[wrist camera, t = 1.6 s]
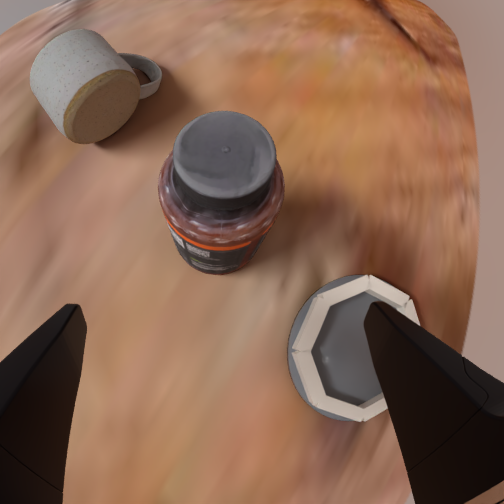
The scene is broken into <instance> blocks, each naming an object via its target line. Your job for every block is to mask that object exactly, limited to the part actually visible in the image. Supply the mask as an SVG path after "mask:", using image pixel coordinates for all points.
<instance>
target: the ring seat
mask: <svg viewBox="0 0 504 504" xmlns="http://www.w3.org/2000/svg"><path fill="white" fill-rule="evenodd" d="M409 297H410V296H408V295H407V294H405V293H403V292H401V291H399V290H398V289H396V288H394V287H393V286H392V285H390V284H389V283H387V282H385V281H383V280H381V279H379V278H376V277H374V276H372V275H369V276H368V275H352V276H346V277H343V278H340V279H337V280H334V281H332V282H330V283H328V284H326V285H324V286H323V287H321V288H320V289H318V290H317V291H316V292H315V293H314V294H312V295H311V296H310V297H309V299H308V300H307V301H306V302H305V303H304V305H303V306H302V307H301V309H300V310H299V312H298V314H297V316H296V318H295V320H294V322H293V325H292V328H291V331H290V335H289V339H288V347H287V361H288V368H289V372H290V376H291V379H292V382H293V384H294V386H295V388H296V390H297V391H298V393H299V395H300V396H301V397H302V398H303V400H304V401H305V402H306V403H307V404H308V405H310V406H311V407H312V408H313V409H315V410H316V411H318V412H319V413H321V414H322V415H325V416H327V417H329V418H332V419H336V420H342V421H359V422H361V421H362V420H363V421H367V420H369V419H370V418H372V417H374V416H376V415H377V414H379V413H381V412H382V411H384V410H386V409H387V408H388V407H387V404H386V401H385V398H384V395H383V392H382V389H381V386H380V384H379V381H378V378H377V375H376V372H375V369H374V366H373V362H372V359H371V354H370V350H369V346H368V342H367V338H366V334H365V330H364V325H363V323H364V319H365V316H366V314H367V311H368V309H369V306H370V304H371V303H372V302H374V301H384V302H386V303H387V304H389V305H390V306H392V307H393V308H395V309H396V310H398V311H399V312H400V313H402V314H403V315H405V316H406V317H408V318H409V319H411V320H412V321H414V322H415V323H416V324H418V325H419V326H420V323H419V320H418V317H417V313H416V310H415V307H414V304H413V301H412V299H410V300H409Z"/></svg>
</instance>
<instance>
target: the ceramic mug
mask: <svg viewBox="0 0 504 504" xmlns="http://www.w3.org/2000/svg"><path fill="white" fill-rule="evenodd" d="M132 68H135V69H139V70H141V71H143V72H145V73H146V74H147V75H148V77H149V78H150V79H151V83H148V84H144V85H140V83H139V80H138V78H137V76H136V74H135V73H134V71H133V69H132ZM161 79H162V71H161V69H160V67H159V66H158V65H157V64H156V63H155V62H154V61H152V60H150V59H148V58H146V57H144V56H140V55H136V54H127V53H117V52H116V51H115V50H114V49H113V48H112V47H111V46H110V45H109V44H108V42H107V41H106V40H105V39H104V38H103V37H102V36H101V35H100V34H98V33H96V32H95V31H92V30H87V29H77V30H72V31H68V32H65V33H63V34H61V35H59V36H57V37H56V38H54V39H53V40H52V41H50V42H49V43H48V44H47V45H46V46H45V47H44V48H43V49H42V50H41V51H40V53H39V54H38V55H37V57H36V59H35V61H34V63H33V65H32V69H31V73H30V86H31V89H32V91H33V93H34V95H35V96H36V98H37V99H38V100H39V102H40V104H41V105H42V107H43V108H44V110H45V111H46V112H47V114H48V115H49V117H50V118H51V119H52V121H53V122H54V124H55V125H56V127H57V128H58V130H59V131H60V132H61V133H62V134H63V135H65V136H66V137H67V138H68V139H69V140H71V141H73V142H75V143H79V144H89V143H94V142H98V141H100V140H103V139H105V138H106V137H108V136H110V135H112V134H113V133H115V132H116V131H117V130H118V129H119V128H121V127H122V126H123V125H124V124H125V123H126V122H127V120H128V119H129V118H130V117H131V115H132V114H133V112H134V110H135V109H136V106H137V104H138V101H139V99H143V98H147V97H148V96H150V95H152V94H154V93H155V92H156V91H157V89H158V87H159V85H160V82H161Z"/></svg>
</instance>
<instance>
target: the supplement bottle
mask: <svg viewBox="0 0 504 504" xmlns="http://www.w3.org/2000/svg"><path fill="white" fill-rule="evenodd" d="M284 188H285V184H284V177H283V173H282V170H281V167H280V165H279V163H278V160H277V159H276V148H275V145H274V141H273V140H272V137H271V136H270V134H269V133H268V131H267V130H266V129H265V128H264V127H263V126H262V125H261V124H260V123H259V122H258V121H256V120H254V119H253V118H251V117H249V116H247V115H244V114H240V113H237V112H232V111H216V112H210V113H207V114H203V115H201V116H199V117H197V118H195V119H194V120H192V121H191V122H189V123H188V124H187V125H186V126H185V127H184V128H183V129H182V130H181V131H180V133H179V134H178V136H177V138H176V140H175V143H174V147H173V150H172V151H171V153H169V155H168V157H167V158H166V160H165V161H164V164H163V166H162V169H161V172H160V175H159V181H158V192H159V199H160V204H161V207H162V210H163V213H164V216H165V218H166V221H167V224H168V226H169V229H170V232H171V234H172V237H173V239H174V242H175V245H176V247H177V249H178V251H179V253H180V255H181V256H182V257H183V259H184V260H185V261H186V262H187V263H188V264H189V265H190V266H192V267H193V268H194V269H196V270H198V271H201V272H203V273H206V274H213V275H223V274H228V273H231V272H233V271H236V270H238V269H240V268H241V267H243V266H244V265H245V264H246V263H247V262H248V261H249V260H250V259H251V258H252V257H253V256H254V254H255V253H256V251H257V249H258V248H259V246H260V244H261V243H262V241H263V239H264V238H265V236H266V234H267V233H268V231H269V230H270V228H271V226H272V225H273V223H274V222H275V219H276V218H277V216H278V214H279V212H280V209H281V206H282V202H283V199H284V191H285V190H284Z"/></svg>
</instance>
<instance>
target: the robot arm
mask: <svg viewBox="0 0 504 504" xmlns="http://www.w3.org/2000/svg"><path fill="white" fill-rule="evenodd" d="M363 325H364V330H365V334H366V338H367V342H368V346H369V350H370V354H371V359H372V362H373V366H374V369H375V372H376V375H377V378H378V381H379V384H380V386H381V389H382V392H383V395H384V398H385V401H386V404H387V407H388V410H389V413H390V417H391V420H392V423H393V426H394V429H395V432H396V436H397V439H398V442H399V446H400V449H401V452H402V456H403V459H404V463H405V466H406V470H407V472H408V473H407V474H408V478H409V482H410V485H411V489H412V493H413V497H414V501H415V504H504V383H503V382H501V381H499V380H498V379H496V378H494V377H493V376H491V375H490V374H488V373H486V372H485V371H483V370H482V369H480V368H479V367H477V366H476V365H475V364H473V363H472V362H470V361H469V360H468V359H466V358H465V357H462V355H461V354H459V353H458V352H456V351H455V350H454V349H452V348H451V347H449V346H448V345H446V344H445V343H444V342H442V341H441V340H439V339H438V338H437V337H435V336H434V335H432V334H431V333H429V332H428V331H427V330H425V329H424V328H422V327H421V326H419V325H418V324H416V323H415V322H414V321H412V320H411V319H409V318H408V317H406V316H405V315H403V314H402V313H400V312H399V311H398V310H396V309H395V308H393V307H392V306H390V305H389V304H387V303H386V302H384V301H374V302H372V303H371V304H370V306H369V309H368V311H367V314H366V316H365V319H364V323H363ZM86 334H87V325H86V321H85V318H84V315H83V312H82V309H81V307H80V305H78V304H66V305H65V306H63V307H62V308H61V309H60V310H59V311H57V312H56V313H55V314H54V315H53V316H52V317H50V318H49V319H48V320H47V321H46V322H45V323H43V324H42V325H41V326H40V327H39V328H38V329H37V330H35V331H34V332H33V333H32V334H31V335H30V336H29V337H27V338H26V339H25V340H24V341H23V342H22V343H21V344H20V345H19V346H17V347H16V348H15V349H14V350H13V351H12V352H11V353H10V354H9V355H8V356H7V357H6V358H4V359H3V360H2V361H1V362H0V504H62V502H63V493H62V492H63V486H64V476H65V466H66V458H67V450H68V443H69V436H70V430H71V423H72V418H73V412H74V407H75V401H76V396H77V391H78V387H79V382H80V377H81V371H82V363H83V355H84V347H85V340H86Z"/></svg>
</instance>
